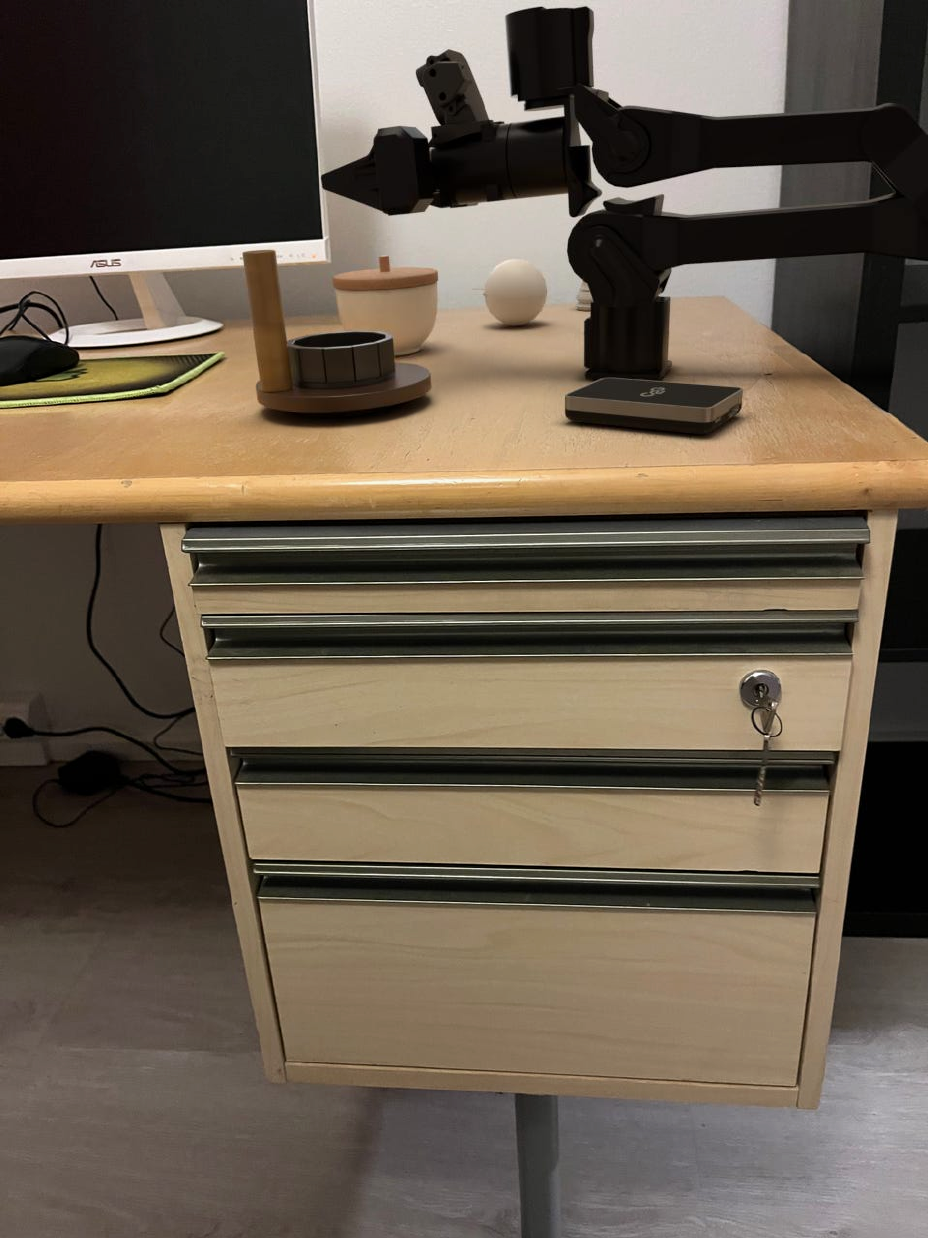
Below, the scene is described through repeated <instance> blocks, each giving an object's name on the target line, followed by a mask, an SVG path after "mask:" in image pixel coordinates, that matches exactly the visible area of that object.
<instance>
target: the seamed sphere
mask: <svg viewBox="0 0 928 1238" xmlns="http://www.w3.org/2000/svg"><path fill="white" fill-rule="evenodd" d="M470 290H472V291H473V290H474V291H475V290H476V291H477V290H478V291H479V290H481V291H483V296H484V301H485V305H486V308H487V309H488V311H489V313H490V315H492V317H494V318H495V319H496V320H497V321H498V322H500V323H503V324H505V325H506V326H522V325H526V324H528V323H530V322H532V321H534V320H535V319H536V318H537V317H538V316H539V314H541V313H542V311H543V309H544V307H545V305H546V303H547V297H548V287H547V282H546V279H545V277H544V275H543V273H542V271H541V270H540V269H539V268H538V267H537V266H536V265H535V264H534V263H532V262H530V261H527V260H526V259H522V258H521V259H520V258H512V259H507V260H504V261H502V262H500V263H499V264H497V265H496V266H495V267H494V268H492V270H491V271H490V272H489V274H488V276H487V277H486V281H485V283H484V288H471V289H470Z"/></svg>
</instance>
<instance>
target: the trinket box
mask: <svg viewBox="0 0 928 1238" xmlns="http://www.w3.org/2000/svg"><path fill="white" fill-rule="evenodd" d="M378 264H379V267H378V268H368V269H360V270H353V271H345V272H341V273H338V274H336V275H333V276H332V285H333V288H334V294H335V302H336V309H337V313H338V317H339V320H340V322H341V326H342V328H343V331H380V332H385V333H390V334H393V344H394V356H395V357H396V356H404V355H409V354H414V353H417V352H419V351H420V350H421V346H422V345H423V344H424V342H425V341H427V339H428V338H429V337H430V335H431V333H432V332H433V330H434V327H435V324H436V321H437V316H438V307H439V291H438V290H439V289H438V281H439V271H438V269H435V268H433V267H421V266H420V267H418V266H417V267H415V266H403V267H398V266H397V267H391V266H390V265H391V264H390V255H378Z"/></svg>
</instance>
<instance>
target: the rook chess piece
mask: <svg viewBox="0 0 928 1238" xmlns="http://www.w3.org/2000/svg"><path fill="white" fill-rule="evenodd" d="M581 280H582V279H581ZM575 299H576V300H577V301H578V302H577V303H575V307H576V308H577V310H578V311H583V312H584V311H585V312H588V311H589V312H590V302H591V301H593V299H592V296H591V293H590V290H589V287H588V284H587V283H585V282H584V281H583V280H582V281H581V285H580V287H579V291H578V292H577V294H576V297H575Z"/></svg>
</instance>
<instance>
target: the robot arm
mask: <svg viewBox="0 0 928 1238" xmlns="http://www.w3.org/2000/svg"><path fill="white" fill-rule="evenodd" d="M504 23H505V25H504V26H505V37H506V39H505V40H506V49H507V50H506V52H507V54H506V55H507V66H508V80H509V93H510V95H509V97H510V99H511V98H512V99H517V103H523V112H538V111H550V110H557V109H563V115H562V116H561V115H559V116H553V117H545V118H539V119H531V120H522V121H516V122H508V123H505V121H502V120H498V121H494V119H490V117H489V115H488V112H487V109H486V106H485V102H484V99H483V97H482V95H481V92H480V90H479V86H478V84H477V82H476V80H475V76H474V75H473V72H472V69H471V66H470V65H469V63H468V60H467V58H466V57H465V56H464V54H463V53H462V52H459V51H456V50H453V49H450V48H448V49H446V50H445V51H443V52H442V53H440V54H438V55H432V54H431V55H429V56H427V58H426V60H425V63H424V64H423V65H420V66H419V67H418V68H416V69H415V77H416V80H417V82H418V85H419V87H421V88H422V89H423V91H424V93H425V96H426V97H427V100H428V103H429V105H430V108H431V110H432V112H433V114H434V117H435V119H436V121H437V123H438V124H439V125H433V126H430V132H431V138H430V140H429V138H428V137H427V136H426V135H425V134H424V133H423V132H421V130H419V129H418V128H417V127H416V126H407V125H395V126H388V127H382V128H381V127H380V128H377V131H376V134H375V135H374V137H373V140H372V141H373V142H372V143H373V144H372V146H371V149H370V151H369V152H368V153H367V155H365V156H363V157H360V158H357V159H355V160H354V161H351V162H349V163H346V164H343V165H342V166H339V167H337V168H334V169H332V170H330V171H327V172H325V173H323V174H320V182H321V188H322V190H324V191H327V192H329V193H332V194H335V195H338V196H340V197H343V198H346V199H349V200H351V201H355V202H356V203H359V204H362V205H365V206H368V207H370V208H372V209H375V210H377V211H380V212H382V213H383V214H385V215H387V216H388V217H392V216H401V215H410V214H411V215H412V214H418V213H426V211H427V209H428V208H429V206H430V207H435V208H438V209H448V208H450V209H458V208H467V207H477V206H478V205H479V203H480V204H481V203H482V204H483V203H492V202H500V201H501V202H502V201H509V200H511V201H512V200H519V199H520V200H521V199H529V198H530V199H531V198H539V197H549V196H557V195H559V196H560V195H566V194H567V200H568V202H567V203H568V204H567V205H568V215H569V216H570V217H571V218H578V217H581V216H582V217H581V218H580V219H578V221H577V222H576V224H575V225H574V226H573V227H572V229H571V231H570V234H569V236H568V238H567V245H566V246H567V247H566V253H567V260H568V263H569V265H570V267H571V269H572V271H573V273H574V274H575V275H577V277H578V278H579V279H580V280H583V281H584V282H585V283H587V284H588V287H589V290H590V293H591V296H592V299H593V301H591V302H590V311H589V312H590V313H589V314H590V315H589V317H586V318H585V319H584V321H583V367H584V368H585V369H587V370H585V372H584V379H597V380H600V379H602V378H622V379H636V380H649V381H659V380H661V379H662V378H663V377H664V376H665V374H666V373H667V372H668V371H670V369H671V368H672V366H673V361H672V360H671V359H669V344H670V324H671V323H670V322H671V321H670V320H671V296H661V294H663V293H664V292H665V290H666V288H667V285H668V282H669V280H670V278H671V275H672V269H673V268H676V267H677V268H678V267H681V266H686V265H700V264H701V265H702V264H714V263H730V262H744V261H745V262H746V261H760V260H776V259H791V258H806V257H807V258H808V257H821V256H822V257H823V256H837V255H838V256H839V255H852V254H853V255H854V254H872V255H879V256H885V257H893V258H899V259H905V260H912V261H920V262H928V133H926V132H925V130H924V129H923V128H922V127H921V125H920V124H918V122H917V121H916V118H915V116H914V114H913V113H912V111H911V110H910V109H909V108H908V107H907V106H905V105H903V104H902V103H895V102H885V103H882V104H879V105H875V106H873V107H860V108H844V109H829V110H828V109H827V110H811V111H810V110H809V111H793V112H792V111H791V112H778V113H777V112H775V113H760V114H759V113H758V114H744V115H727V116H713V115H705V114H700V113H699V114H697V113H690V112H684V111H677V110H670V109H663V108H657V107H655V108H654V107H647V106H640V105H624V106H623V105H621V104H620V103H618V102H617V101H616V100H614V99H613V98H611V97H610V92H609V91H605V90H604V89H603V90H602V89H599V88H594V87H595V79H594V77H595V76H594V50H593V39H594V33H595V13H594V10H593V9H592V8H590V7H588V5H585V6H578V7H554V8H553V7H552V8H546V7H544V6H535V7H534V6H533V7H528V8H523V9H519V10H516V11H513V12H510V13H508V14H505V16H504ZM580 127H581V128H582V129H583V131H584V132H585V133H586V135H587V136H588V139H590V141H591V142H592V144H591V145H590V144H584V145H583V144H582V140H581V131H580ZM591 156H592V157H591ZM864 162H865V163H870V164H871V165H872V167H873V168H874V169H875V170H876V172H878V174H879V175H880V176H881V177H882V178H883V180H884V181H885V182H886V183H887V185H889V187H890V188H891V189H892V190H893V192H892V193H889V194H885V195H881V196H878V197H875V198H872V199H868V200H858V201H846V202H834V203H821V204H808V205H807V204H806V205H796V206H785V207H783V206H782V207H771V208H759V209H747V210H746V209H745V210H734V211H722V212H711V213H698V214H697V213H696V214H685V213H684V214H683V213H677V212H670V211H664V210H663V209H664V208H663V207H664V200H665V194H663V193H660V194H657V195H652V196H650V197H646V198H642V199H637V200H630V199H625V198H622V197H620V196H617V197H614V198H610V199H606V200H603V201H602V205H603V208H602V209H597V210H595V211H592V212H589V213H587V211H588V209H589V208H590V207H591V205H592V204H593V203H594V202H595V201H596V200H597V199H598V198H600V197H601V196H602V195H603V191H602V189H601V188H599V187H598V186H597V185H595V183H594V182H593V179H592V163H593V165H594V167H595V169H596V171H597V173H598V174H599V176H600V177H601V178H602V179H603V180H604V181H605V182H606V183H607V184H608V185H611V186H613V187H614V188H615V187H617V188H624V189H630V188H635V187H639V186H640V187H641V186H643V185H648V184H649V185H650V184H652V183H657V182H661V181H666V180H671V179H674V178H679V177H683V176H688V175H691V174H696V173H701V172H704V171H709V170H714V169H730V168H731V169H732V168H750V167H751V168H753V167H775V166H777V167H778V166H796V165H797V166H798V165H818V164H819V165H821V164H822V165H823V164H839V163H840V164H841V163H842V164H845V163H864ZM586 213H587V214H586Z"/></svg>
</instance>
